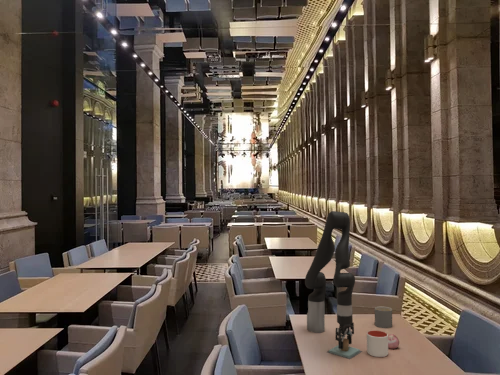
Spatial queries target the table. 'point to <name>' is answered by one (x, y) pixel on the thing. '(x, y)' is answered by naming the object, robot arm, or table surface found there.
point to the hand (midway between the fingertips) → (345, 346)
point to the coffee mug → (383, 317)
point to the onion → (392, 341)
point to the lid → (345, 350)
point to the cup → (377, 343)
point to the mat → (346, 357)
